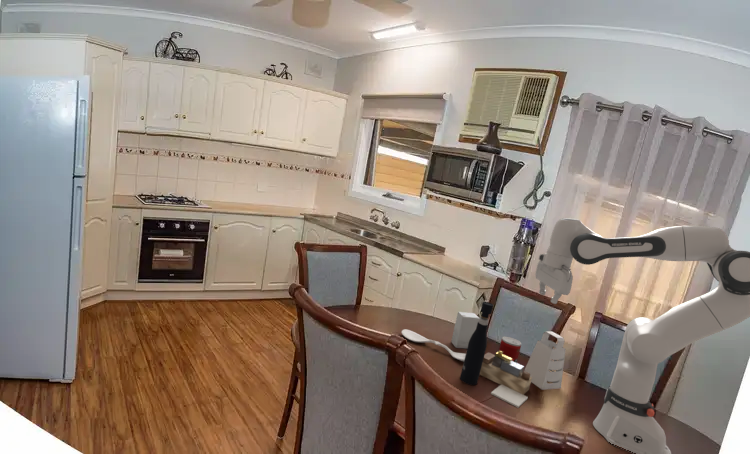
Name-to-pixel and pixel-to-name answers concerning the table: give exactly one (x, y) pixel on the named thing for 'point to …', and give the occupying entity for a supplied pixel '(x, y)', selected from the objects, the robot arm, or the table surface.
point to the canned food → (510, 347)
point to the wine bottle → (476, 348)
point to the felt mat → (509, 395)
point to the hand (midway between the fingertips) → (547, 298)
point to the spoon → (419, 338)
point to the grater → (547, 362)
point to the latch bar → (503, 356)
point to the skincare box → (464, 329)
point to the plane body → (504, 374)
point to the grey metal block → (512, 368)
